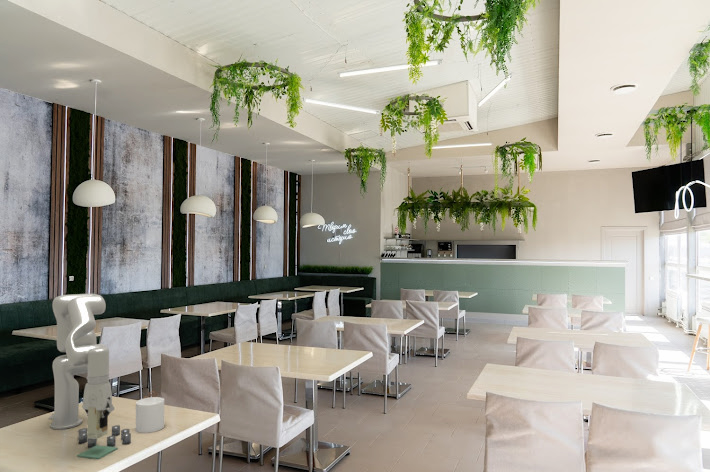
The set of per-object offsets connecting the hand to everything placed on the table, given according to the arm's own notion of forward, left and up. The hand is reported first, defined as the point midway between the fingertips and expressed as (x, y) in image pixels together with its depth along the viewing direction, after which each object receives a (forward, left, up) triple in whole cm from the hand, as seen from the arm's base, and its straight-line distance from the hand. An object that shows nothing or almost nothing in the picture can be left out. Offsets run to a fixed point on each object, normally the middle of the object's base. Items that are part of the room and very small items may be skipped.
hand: (98, 426), depth 192 cm
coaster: (0, 0, -10) cm, 10 cm away
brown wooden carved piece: (-7, +41, -11) cm, 43 cm away
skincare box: (0, 0, -4) cm, 4 cm away
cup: (+2, +28, -11) cm, 30 cm away
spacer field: (-7, +11, -10) cm, 17 cm away
